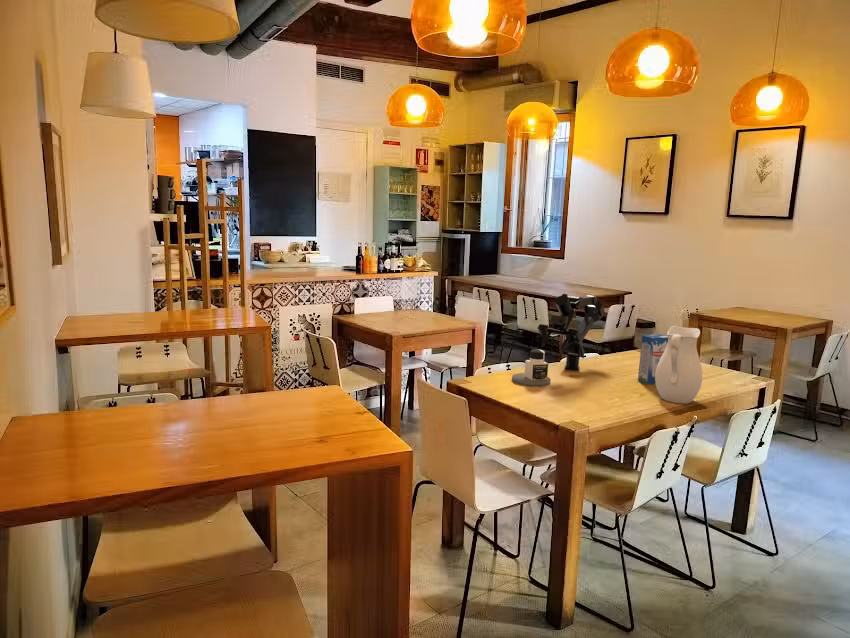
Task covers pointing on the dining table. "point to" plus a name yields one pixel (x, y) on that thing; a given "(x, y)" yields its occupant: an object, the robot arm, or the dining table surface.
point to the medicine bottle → (536, 366)
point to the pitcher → (679, 366)
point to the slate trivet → (524, 380)
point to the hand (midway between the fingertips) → (551, 348)
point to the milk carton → (651, 356)
